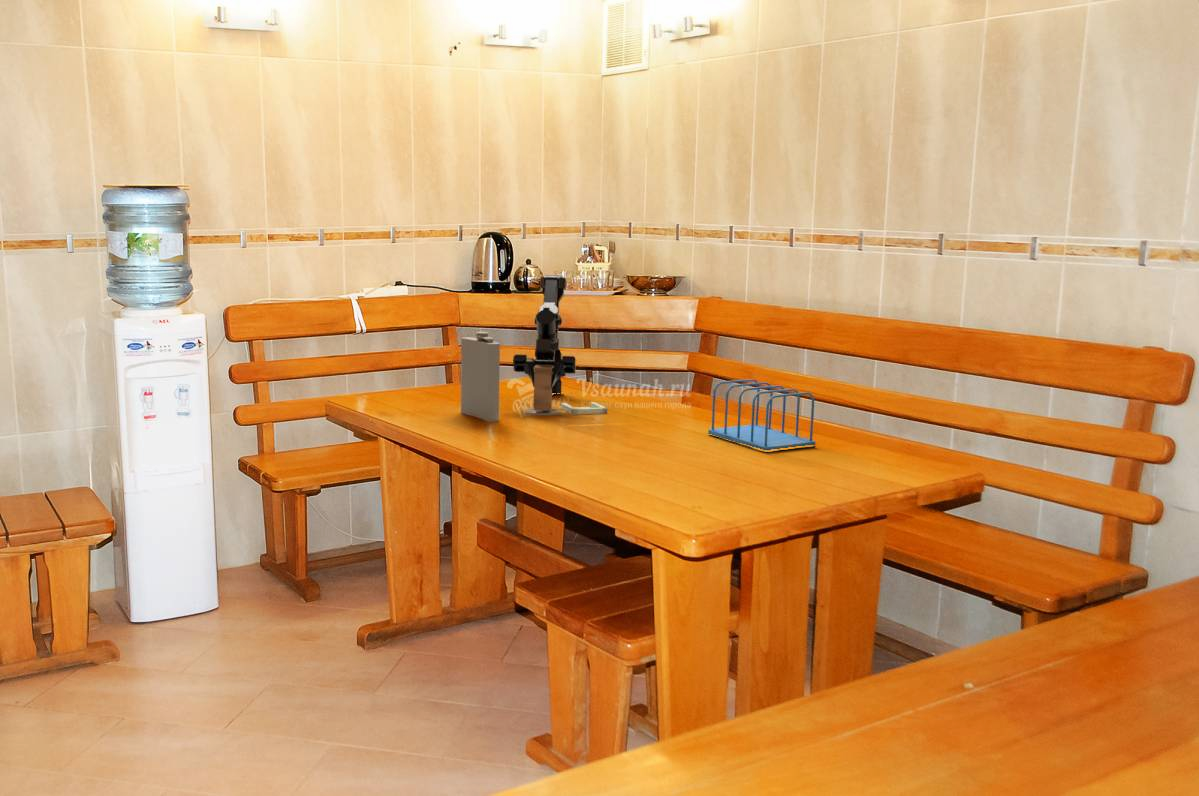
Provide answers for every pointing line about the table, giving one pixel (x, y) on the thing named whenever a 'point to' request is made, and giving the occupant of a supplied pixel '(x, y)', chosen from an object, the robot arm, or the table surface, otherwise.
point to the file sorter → (764, 434)
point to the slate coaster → (542, 412)
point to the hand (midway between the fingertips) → (542, 386)
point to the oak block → (542, 387)
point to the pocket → (585, 409)
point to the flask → (480, 377)
